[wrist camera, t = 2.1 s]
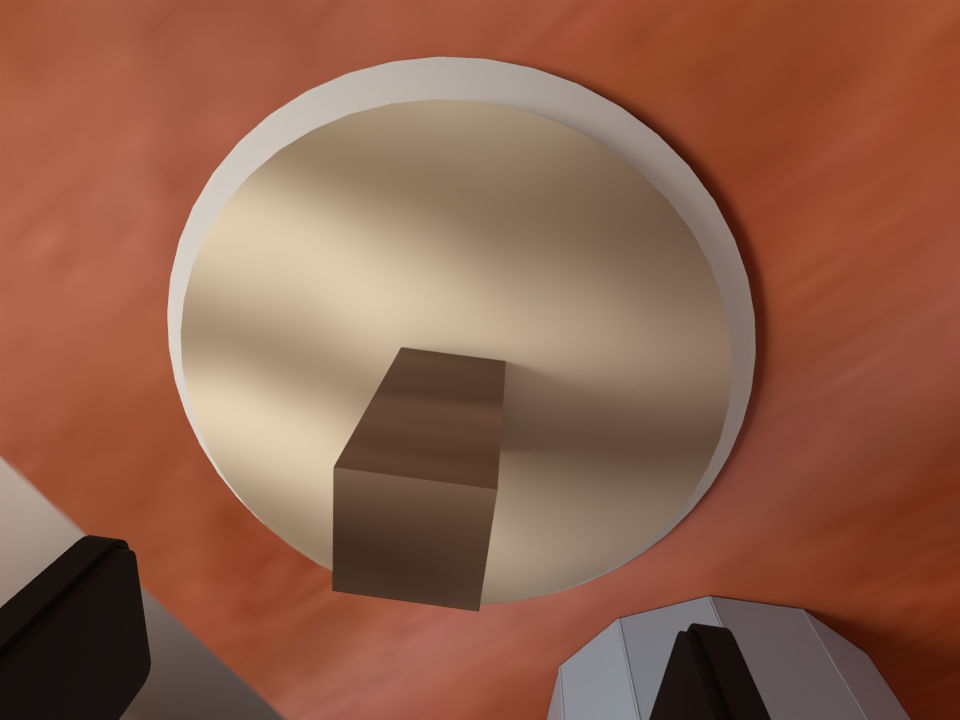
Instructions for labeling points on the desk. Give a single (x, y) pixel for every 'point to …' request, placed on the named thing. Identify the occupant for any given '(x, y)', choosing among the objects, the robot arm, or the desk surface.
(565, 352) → the lid
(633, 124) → the mat
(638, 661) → the bowl
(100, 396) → the desk surface
